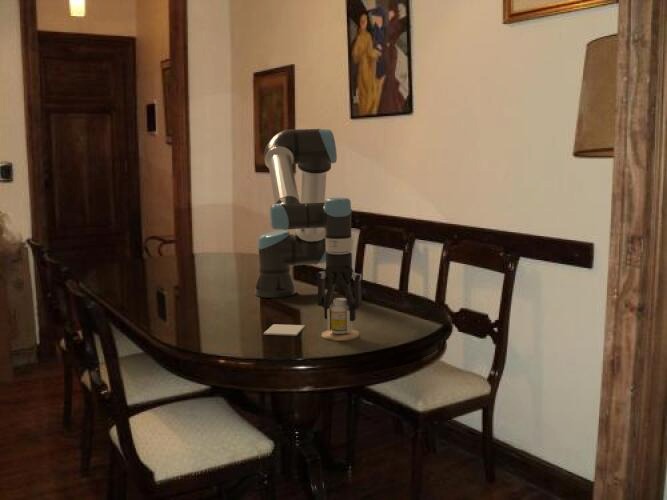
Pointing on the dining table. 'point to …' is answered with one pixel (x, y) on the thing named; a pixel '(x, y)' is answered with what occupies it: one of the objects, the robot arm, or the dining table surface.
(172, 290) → the dining table surface
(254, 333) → the dining table surface
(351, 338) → the cork coaster
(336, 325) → the supplement bottle
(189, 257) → the dining table surface
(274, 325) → the felt mat
